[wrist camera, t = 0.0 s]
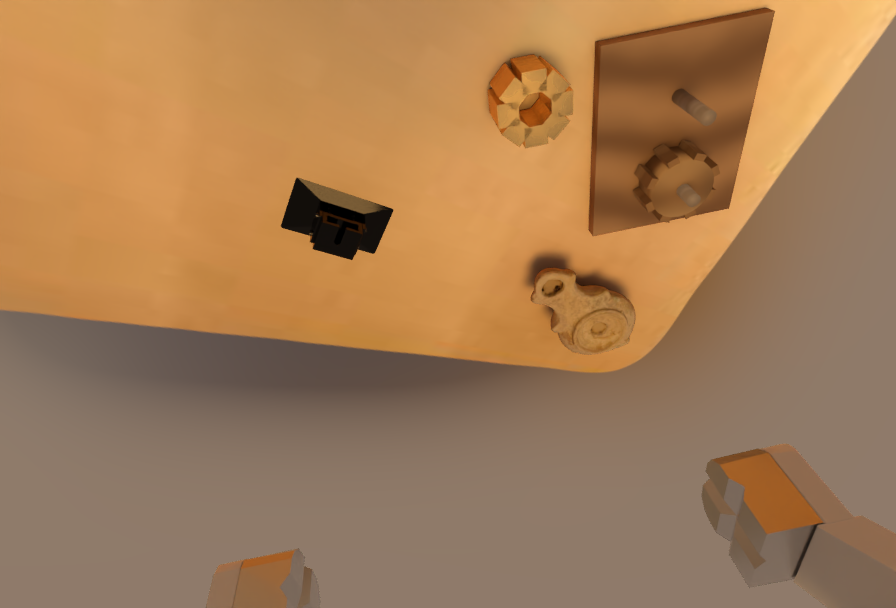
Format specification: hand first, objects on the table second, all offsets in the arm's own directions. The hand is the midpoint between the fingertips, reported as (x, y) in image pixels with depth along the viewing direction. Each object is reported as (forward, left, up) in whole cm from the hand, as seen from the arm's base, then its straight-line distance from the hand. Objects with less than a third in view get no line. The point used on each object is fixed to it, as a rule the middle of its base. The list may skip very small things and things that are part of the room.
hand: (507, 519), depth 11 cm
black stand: (+15, -8, -40) cm, 43 cm away
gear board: (+13, +23, -39) cm, 47 cm away
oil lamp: (+31, +14, -39) cm, 52 cm away
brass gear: (+7, +10, -39) cm, 41 cm away
